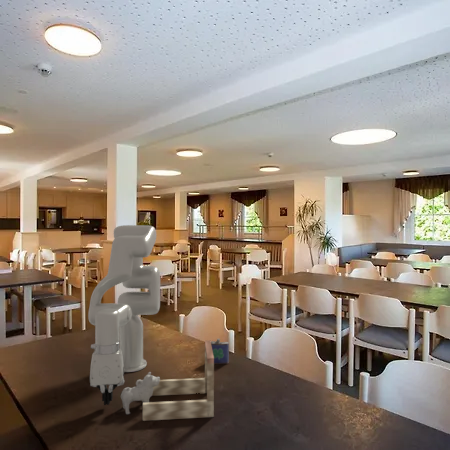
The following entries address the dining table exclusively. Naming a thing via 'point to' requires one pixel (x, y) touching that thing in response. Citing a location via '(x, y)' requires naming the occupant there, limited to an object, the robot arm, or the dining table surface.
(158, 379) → the dog figurine
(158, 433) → the dining table surface
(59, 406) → the dining table surface
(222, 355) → the flask
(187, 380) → the channel
